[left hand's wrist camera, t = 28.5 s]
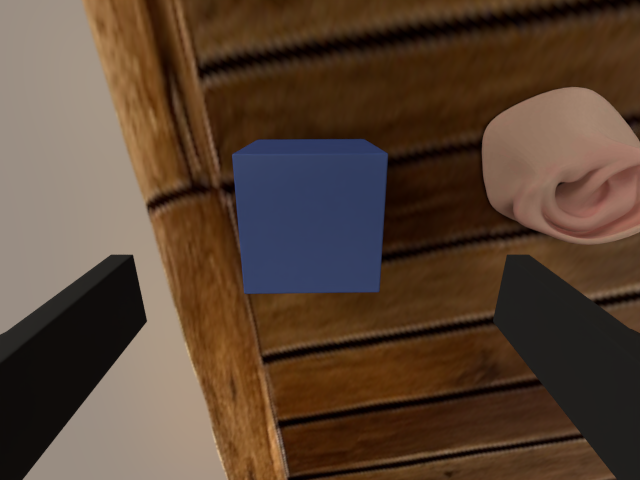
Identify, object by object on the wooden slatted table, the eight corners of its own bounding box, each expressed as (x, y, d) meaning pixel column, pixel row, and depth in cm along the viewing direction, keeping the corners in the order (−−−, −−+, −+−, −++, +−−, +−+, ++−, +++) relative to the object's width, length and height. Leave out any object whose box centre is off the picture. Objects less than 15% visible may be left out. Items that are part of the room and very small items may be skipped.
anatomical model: (476, 154, 24) (642, 31, 21) (453, 148, 27) (593, 42, 25) (562, 290, 27) (711, 198, 25) (532, 268, 31) (659, 186, 29)
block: (257, 139, 27) (231, 154, 18) (364, 139, 27) (388, 153, 19) (263, 241, 30) (244, 294, 21) (360, 240, 30) (379, 292, 22)
